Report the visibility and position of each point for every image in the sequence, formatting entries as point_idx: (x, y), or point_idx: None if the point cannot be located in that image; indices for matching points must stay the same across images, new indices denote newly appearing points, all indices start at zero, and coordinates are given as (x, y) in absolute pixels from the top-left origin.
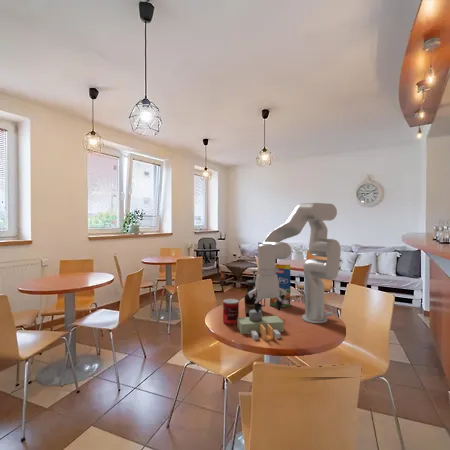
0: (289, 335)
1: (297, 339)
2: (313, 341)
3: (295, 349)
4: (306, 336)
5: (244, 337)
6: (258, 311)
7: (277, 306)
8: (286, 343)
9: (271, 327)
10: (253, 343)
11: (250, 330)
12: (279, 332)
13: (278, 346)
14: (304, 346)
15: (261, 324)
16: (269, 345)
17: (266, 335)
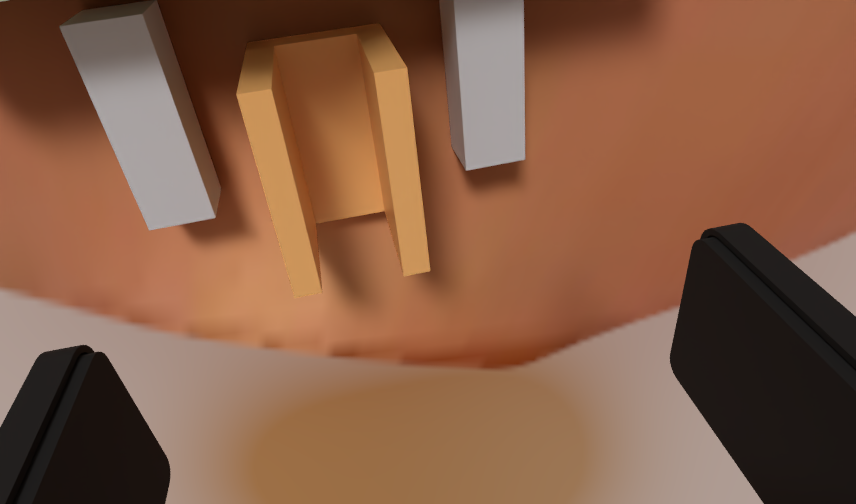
0: (645, 41)
1: (675, 155)
2: (793, 193)
3: (554, 350)
4: (814, 70)
5: (4, 125)
6: (156, 495)
7: (728, 366)
8: (523, 254)
9: (418, 224)
10: (164, 284)
11: (62, 27)
12: (524, 119)
13: (426, 318)
14: (653, 295)
15: (261, 99)
16: (342, 308)
17: (335, 129)
